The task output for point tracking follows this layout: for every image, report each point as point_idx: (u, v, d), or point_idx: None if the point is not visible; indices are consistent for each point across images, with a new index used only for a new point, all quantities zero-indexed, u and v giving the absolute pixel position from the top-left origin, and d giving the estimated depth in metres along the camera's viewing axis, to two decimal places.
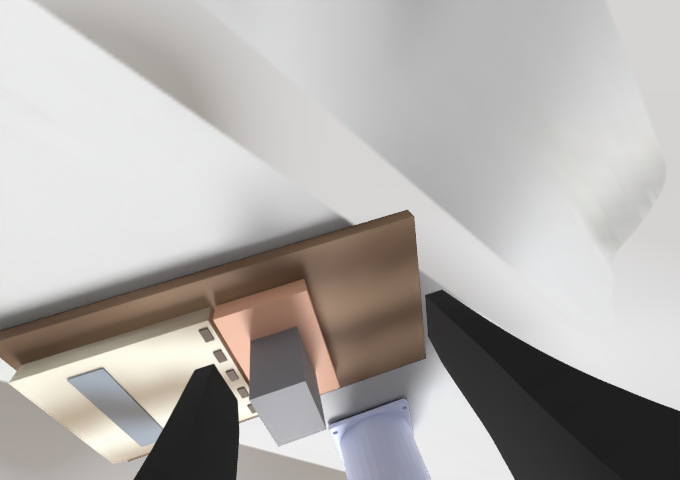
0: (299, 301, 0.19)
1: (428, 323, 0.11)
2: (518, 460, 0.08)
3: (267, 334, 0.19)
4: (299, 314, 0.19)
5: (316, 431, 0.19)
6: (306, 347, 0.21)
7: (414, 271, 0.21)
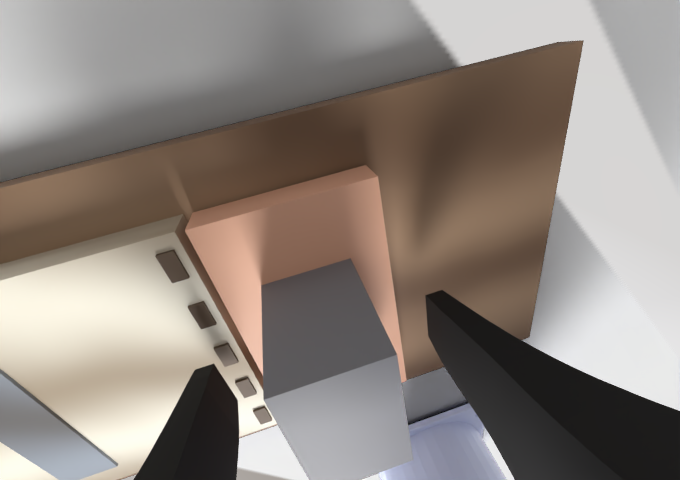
0: (361, 201, 0.09)
1: (428, 323, 0.11)
2: (518, 460, 0.08)
3: (294, 272, 0.10)
4: (358, 232, 0.10)
5: (394, 464, 0.09)
6: None
7: (552, 171, 0.12)
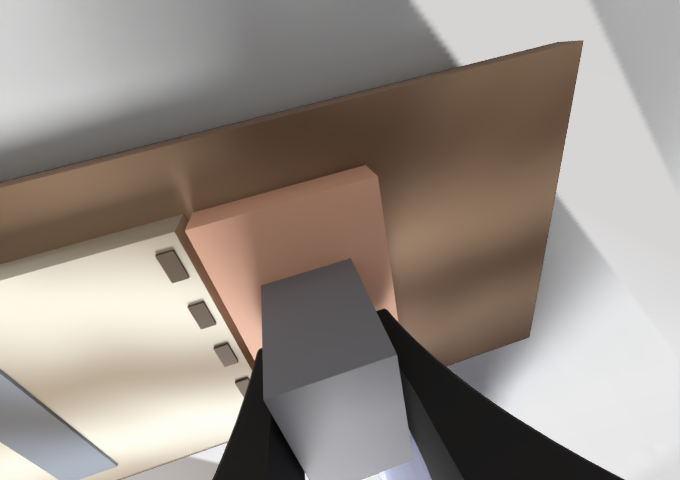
0: (361, 201, 0.09)
1: None
2: None
3: (294, 272, 0.10)
4: (358, 232, 0.10)
5: (394, 464, 0.09)
6: None
7: (552, 171, 0.12)
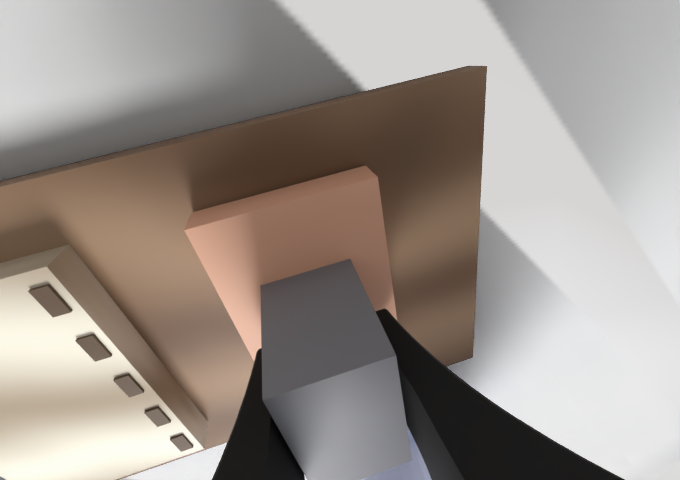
0: (361, 202, 0.09)
1: None
2: None
3: (294, 272, 0.10)
4: (357, 232, 0.10)
5: (393, 465, 0.09)
6: None
7: (473, 195, 0.12)
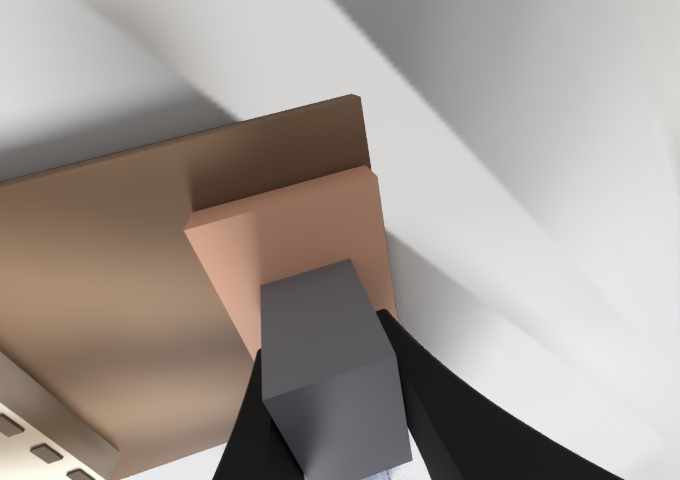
0: (360, 201, 0.09)
1: None
2: None
3: (294, 272, 0.10)
4: (357, 232, 0.10)
5: (393, 465, 0.09)
6: None
7: None
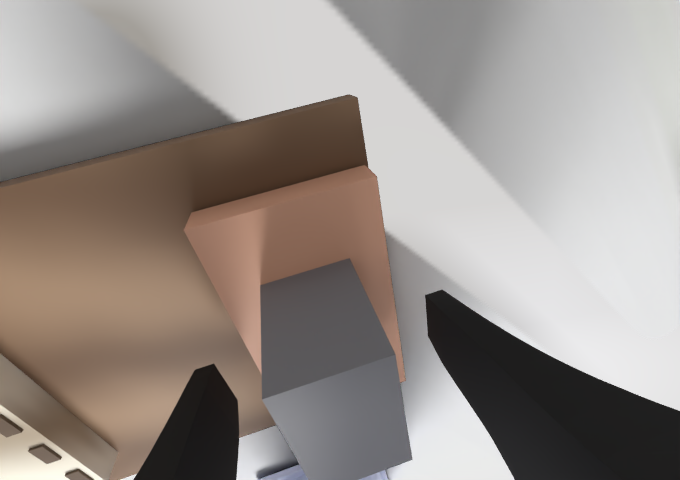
0: (360, 201, 0.09)
1: (428, 323, 0.11)
2: (518, 460, 0.08)
3: (293, 272, 0.10)
4: (357, 232, 0.10)
5: (393, 464, 0.09)
6: None
7: None
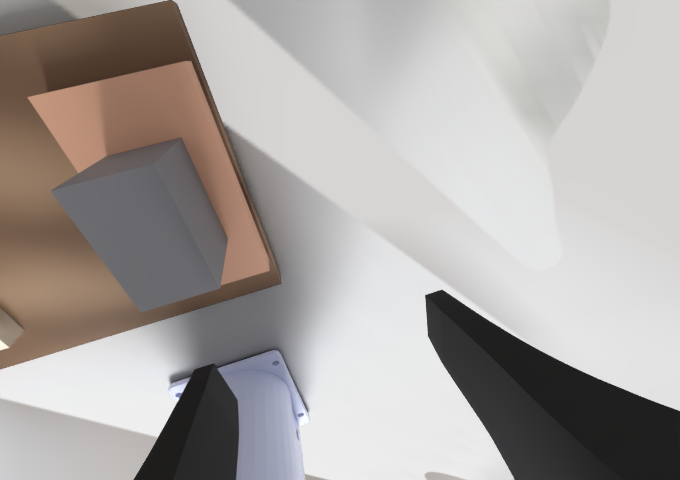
0: (177, 83, 0.12)
1: (428, 323, 0.11)
2: (518, 460, 0.08)
3: (133, 145, 0.12)
4: (181, 112, 0.12)
5: (203, 290, 0.12)
6: (205, 184, 0.14)
7: None
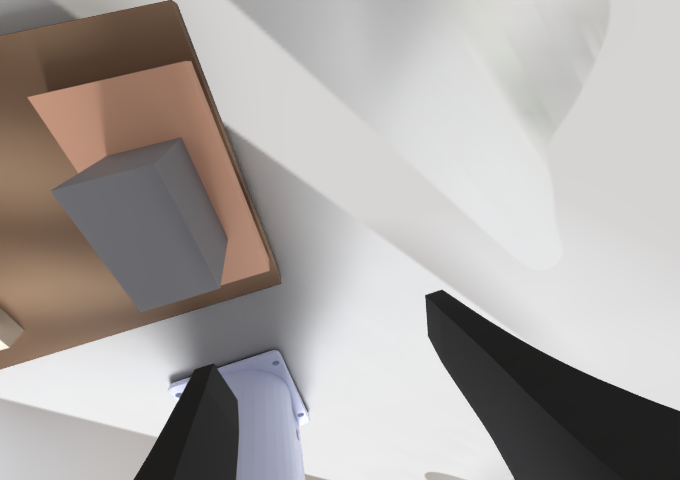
0: (177, 83, 0.12)
1: (428, 323, 0.11)
2: (518, 460, 0.08)
3: (133, 145, 0.12)
4: (181, 112, 0.12)
5: (203, 290, 0.12)
6: (205, 184, 0.14)
7: None
